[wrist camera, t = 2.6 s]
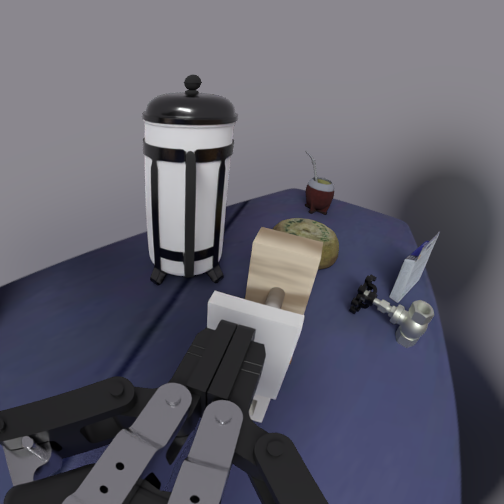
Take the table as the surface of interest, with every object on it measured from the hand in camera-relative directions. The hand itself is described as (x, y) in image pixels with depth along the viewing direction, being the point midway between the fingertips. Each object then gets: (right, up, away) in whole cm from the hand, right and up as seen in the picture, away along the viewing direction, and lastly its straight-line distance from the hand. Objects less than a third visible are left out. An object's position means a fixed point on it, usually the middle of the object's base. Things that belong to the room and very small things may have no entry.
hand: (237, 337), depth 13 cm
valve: (+21, -8, +30) cm, 38 cm away
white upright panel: (0, -11, +15) cm, 19 cm away
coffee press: (-10, +1, +37) cm, 38 cm away
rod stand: (+1, -10, +23) cm, 25 cm away
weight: (+10, +4, +46) cm, 47 cm away
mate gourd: (+16, +14, +62) cm, 66 cm away
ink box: (+29, -3, +39) cm, 49 cm away
